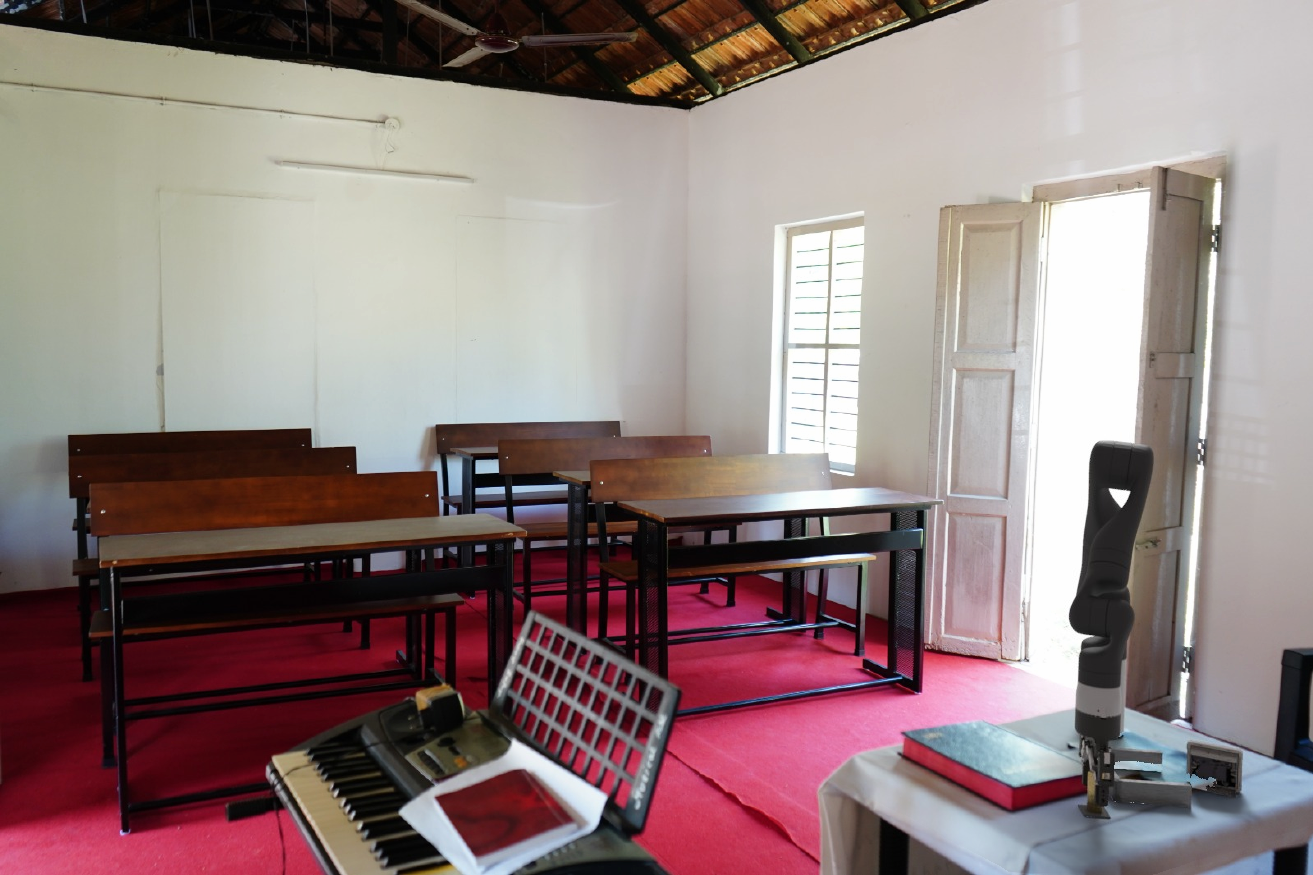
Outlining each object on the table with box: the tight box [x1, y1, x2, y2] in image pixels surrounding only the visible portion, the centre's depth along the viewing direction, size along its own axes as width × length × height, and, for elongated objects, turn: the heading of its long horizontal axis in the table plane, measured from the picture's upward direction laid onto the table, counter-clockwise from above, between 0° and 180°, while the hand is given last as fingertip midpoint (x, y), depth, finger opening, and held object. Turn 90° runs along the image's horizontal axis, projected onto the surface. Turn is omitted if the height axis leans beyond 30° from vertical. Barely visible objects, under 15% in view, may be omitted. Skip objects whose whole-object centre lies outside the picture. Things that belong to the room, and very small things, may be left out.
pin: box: [1086, 770, 1104, 814], centre depth 181 cm, size 3×3×7 cm
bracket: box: [1104, 746, 1193, 808], centre depth 193 cm, size 17×13×4 cm
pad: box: [1078, 804, 1111, 820], centre depth 181 cm, size 4×4×1 cm
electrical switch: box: [1185, 739, 1244, 798], centre depth 190 cm, size 9×5×9 cm, turn 57°
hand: (1094, 795), depth 181 cm, fingers open, 8 cm apart
